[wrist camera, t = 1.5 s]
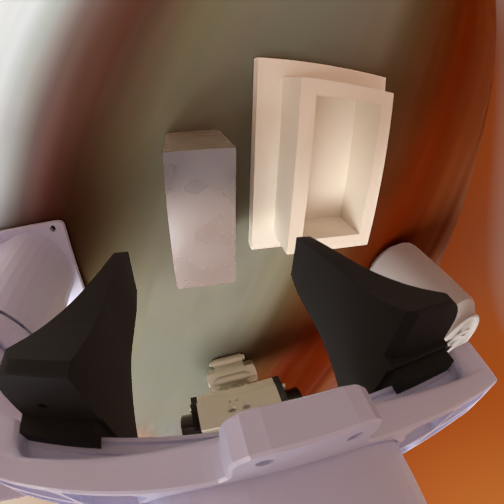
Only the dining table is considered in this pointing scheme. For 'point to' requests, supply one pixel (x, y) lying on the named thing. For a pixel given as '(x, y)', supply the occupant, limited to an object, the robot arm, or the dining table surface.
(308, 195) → the hollow block
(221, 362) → the pneumatic valve
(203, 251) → the grey block
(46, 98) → the dining table surface
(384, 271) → the can
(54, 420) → the robot arm
